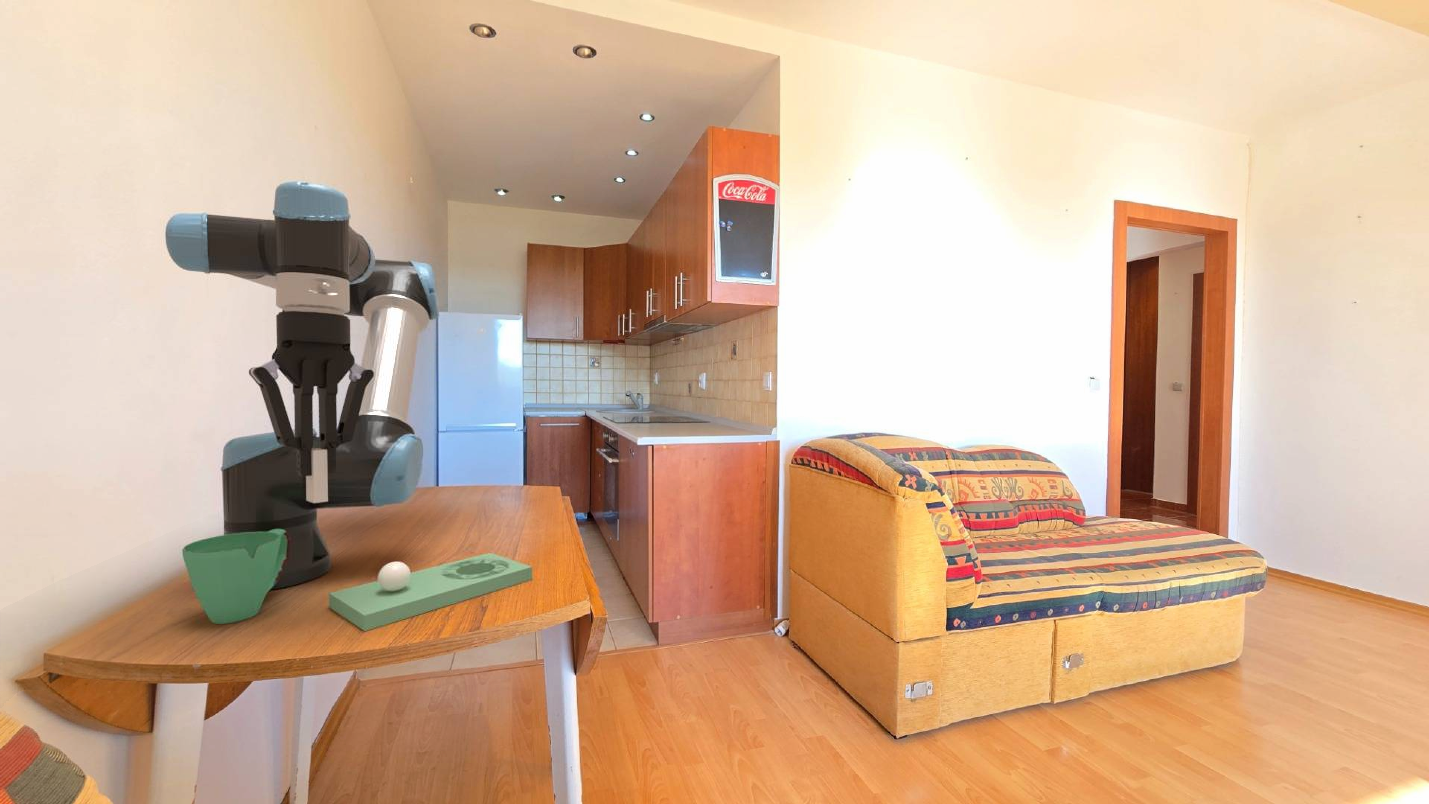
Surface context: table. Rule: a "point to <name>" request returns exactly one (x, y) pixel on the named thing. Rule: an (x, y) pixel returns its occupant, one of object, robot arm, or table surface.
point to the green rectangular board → (428, 590)
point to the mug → (236, 572)
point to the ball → (394, 576)
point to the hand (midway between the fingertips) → (317, 500)
